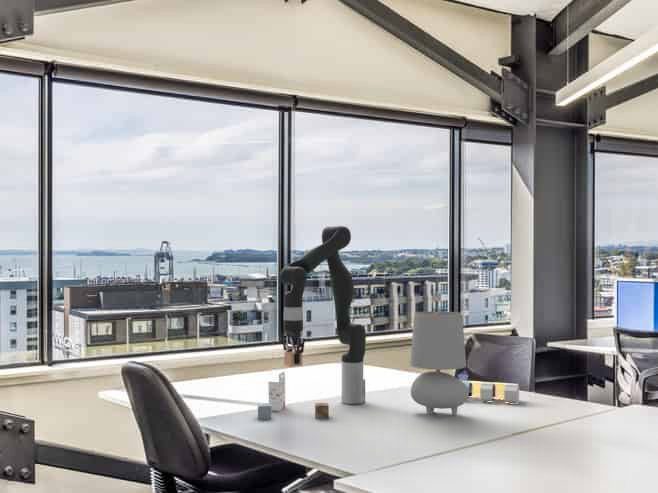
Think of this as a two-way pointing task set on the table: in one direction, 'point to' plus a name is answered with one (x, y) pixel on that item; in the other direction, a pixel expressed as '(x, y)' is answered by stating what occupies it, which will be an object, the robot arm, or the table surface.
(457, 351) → the table lamp
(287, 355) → the terracotta block
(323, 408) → the walnut block
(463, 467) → the table surface
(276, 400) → the ink cartridge box
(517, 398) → the diorama
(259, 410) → the slate block
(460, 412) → the table surface
